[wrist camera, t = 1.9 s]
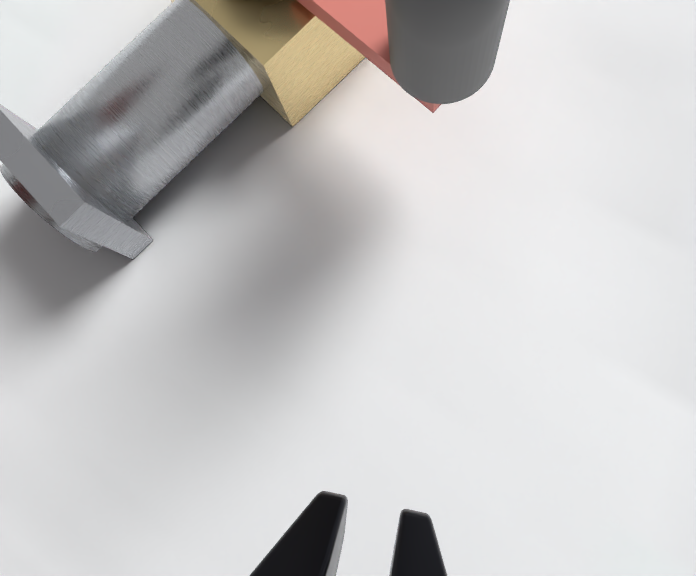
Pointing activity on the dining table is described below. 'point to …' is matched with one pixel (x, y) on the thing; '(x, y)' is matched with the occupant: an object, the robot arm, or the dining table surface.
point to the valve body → (166, 111)
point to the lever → (422, 41)
